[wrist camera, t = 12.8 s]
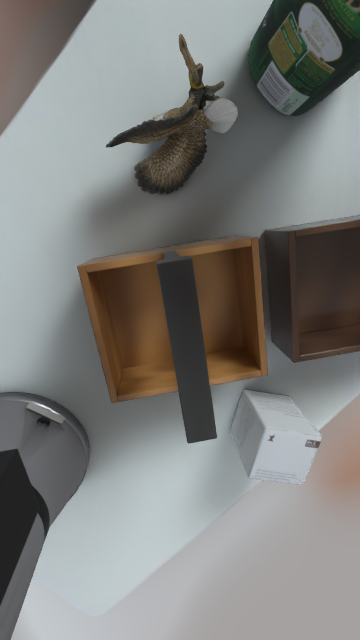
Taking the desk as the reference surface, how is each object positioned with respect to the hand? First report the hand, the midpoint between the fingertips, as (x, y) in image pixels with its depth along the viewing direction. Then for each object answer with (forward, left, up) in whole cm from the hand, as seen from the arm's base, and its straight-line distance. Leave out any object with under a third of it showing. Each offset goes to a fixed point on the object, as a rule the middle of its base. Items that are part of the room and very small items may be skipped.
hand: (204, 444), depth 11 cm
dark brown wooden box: (+17, 0, -21) cm, 27 cm away
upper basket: (0, 0, -21) cm, 21 cm away
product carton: (+8, -15, -21) cm, 27 cm away
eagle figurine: (+2, +15, -21) cm, 26 cm away
